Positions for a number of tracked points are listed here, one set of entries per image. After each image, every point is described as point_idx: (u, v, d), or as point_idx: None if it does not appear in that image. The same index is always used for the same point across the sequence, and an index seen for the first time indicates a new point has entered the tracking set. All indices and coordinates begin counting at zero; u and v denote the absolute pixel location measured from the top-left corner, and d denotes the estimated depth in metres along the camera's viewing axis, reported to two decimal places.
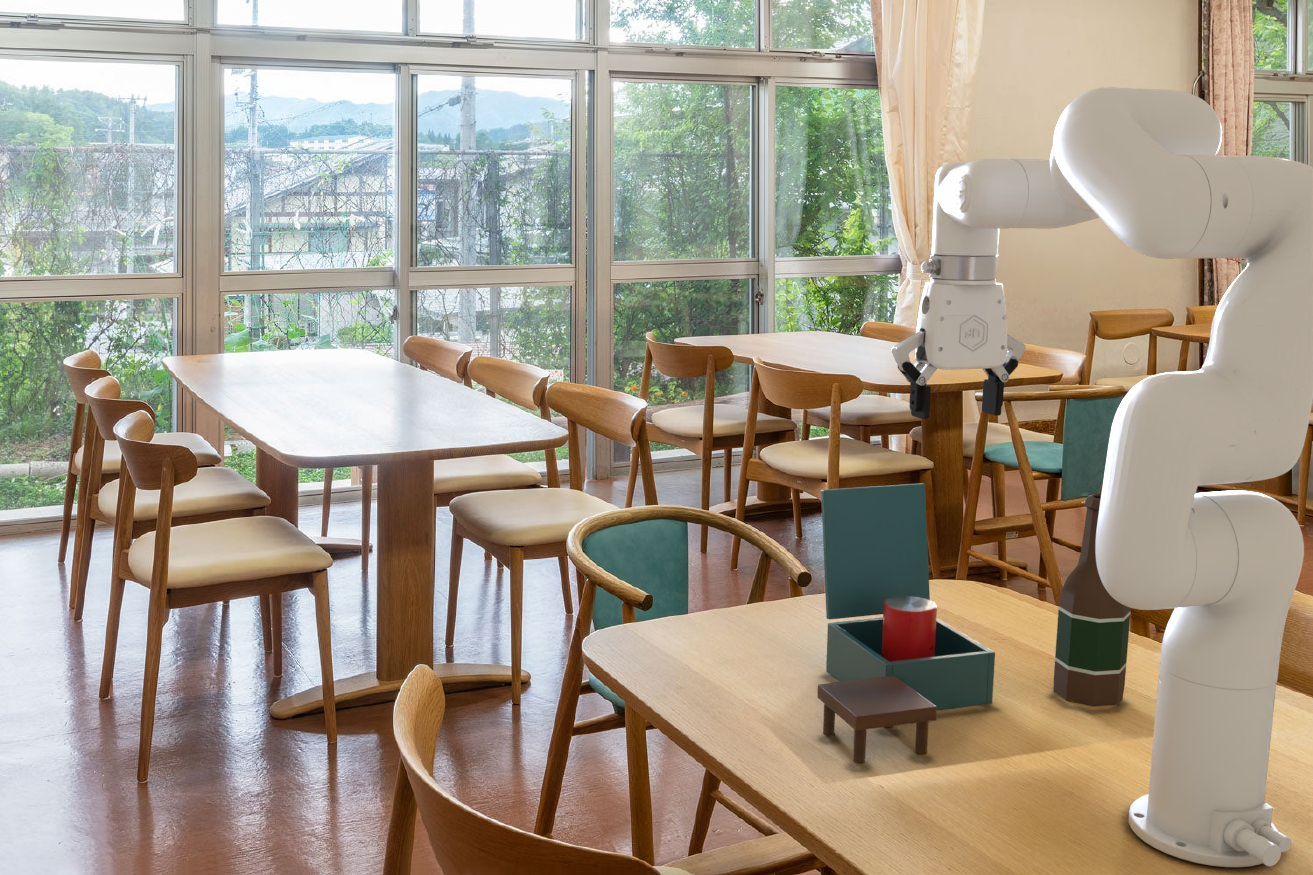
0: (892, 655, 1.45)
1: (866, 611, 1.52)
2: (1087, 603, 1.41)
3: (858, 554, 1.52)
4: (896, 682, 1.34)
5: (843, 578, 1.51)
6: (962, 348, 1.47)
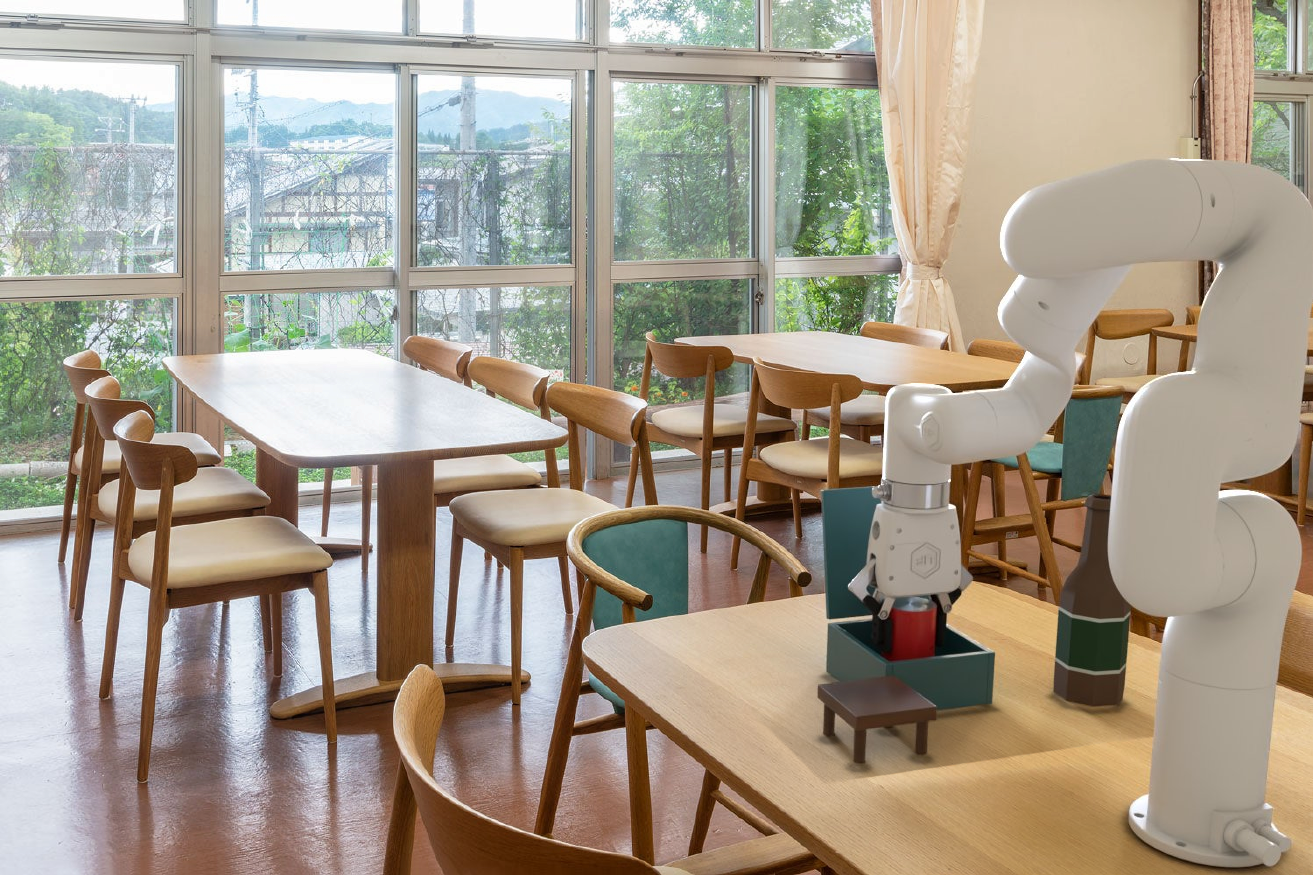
0: (892, 655, 1.45)
1: (866, 611, 1.52)
2: (1087, 603, 1.41)
3: (858, 554, 1.52)
4: (896, 682, 1.34)
5: (843, 578, 1.51)
6: (914, 576, 1.42)
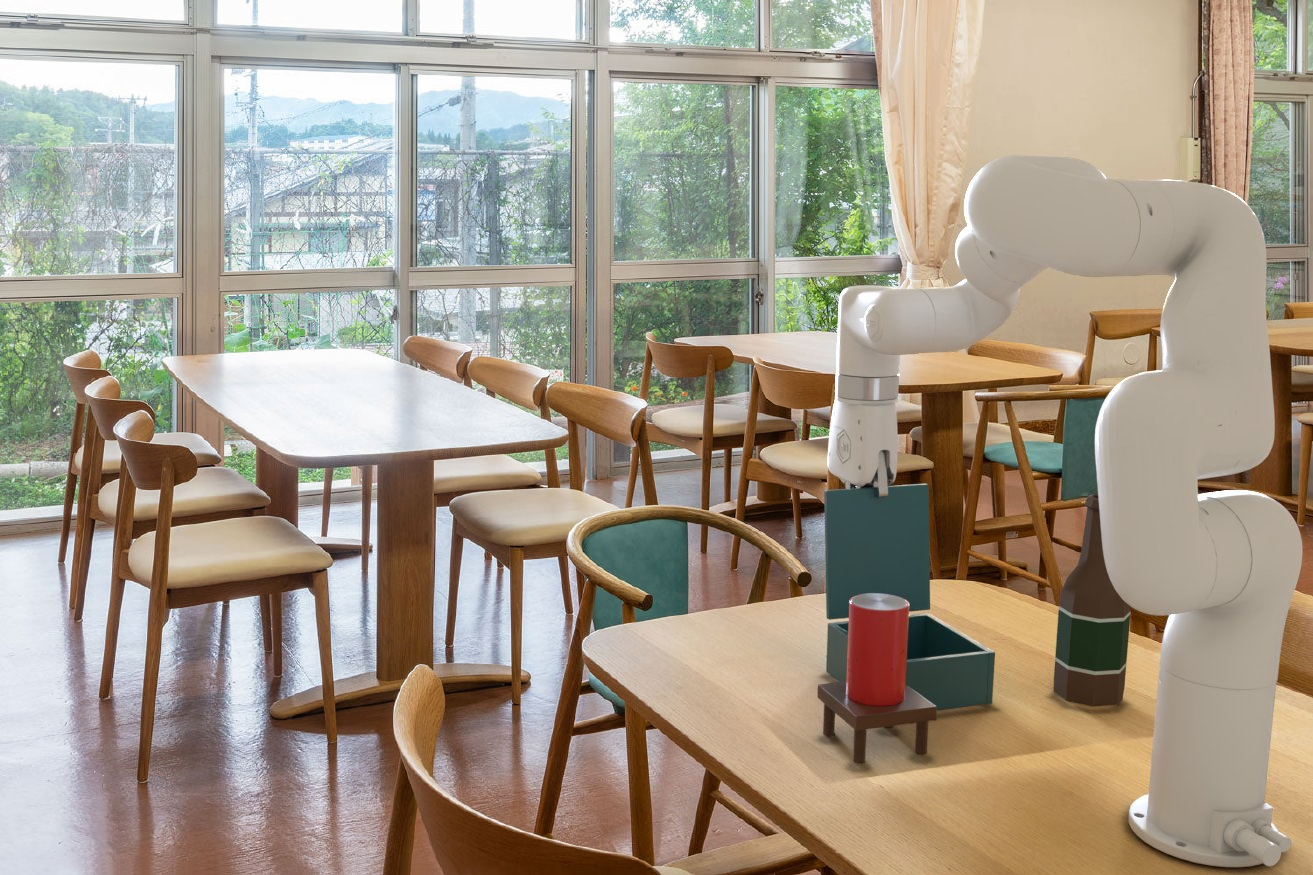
0: (859, 659, 1.28)
1: None
2: (1088, 603, 1.41)
3: (860, 555, 1.51)
4: None
5: (844, 578, 1.51)
6: (838, 458, 1.55)
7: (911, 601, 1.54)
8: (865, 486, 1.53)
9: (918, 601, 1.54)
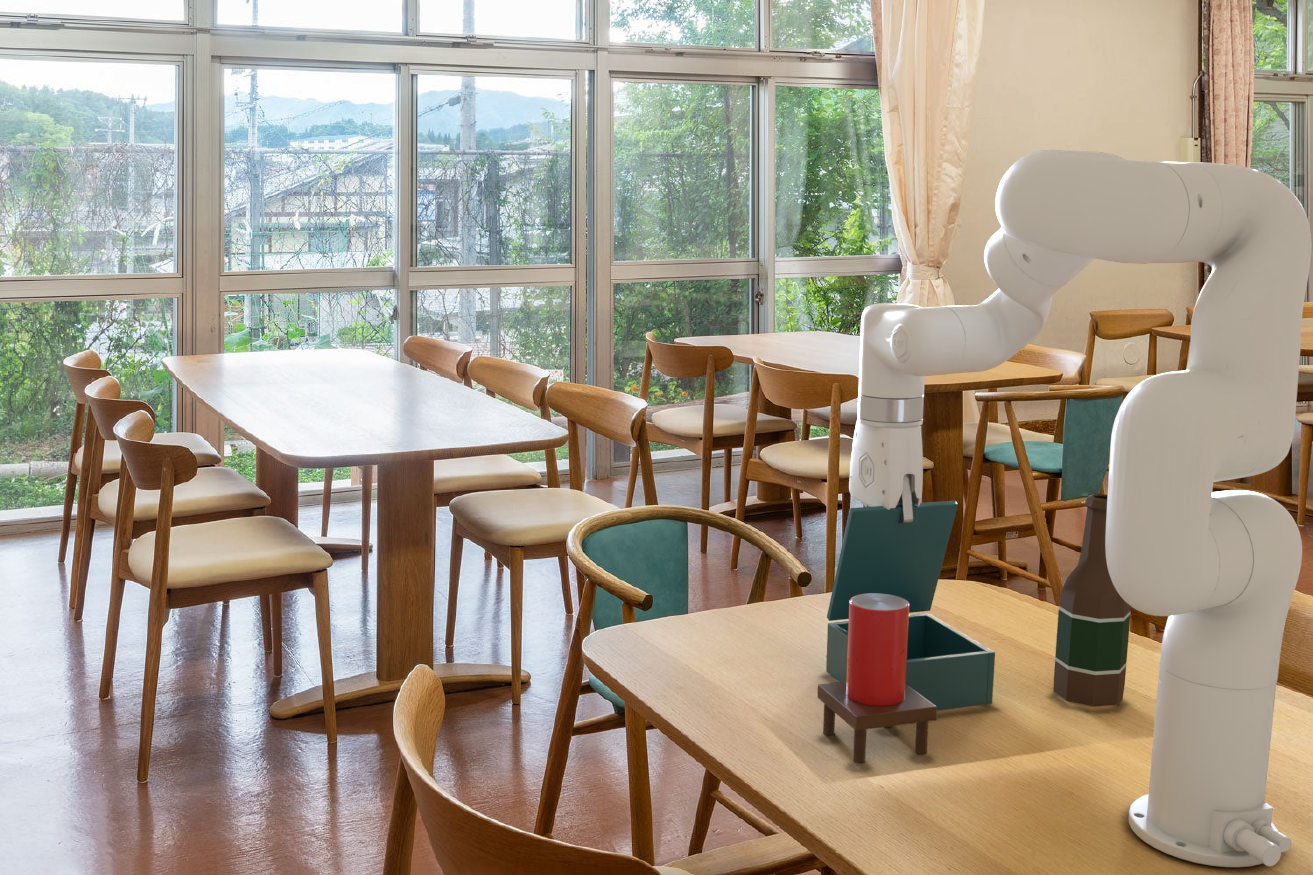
0: (859, 659, 1.28)
1: None
2: (1088, 603, 1.41)
3: (872, 566, 1.48)
4: None
5: (852, 587, 1.49)
6: (860, 482, 1.50)
7: (913, 604, 1.53)
8: None
9: (920, 604, 1.54)
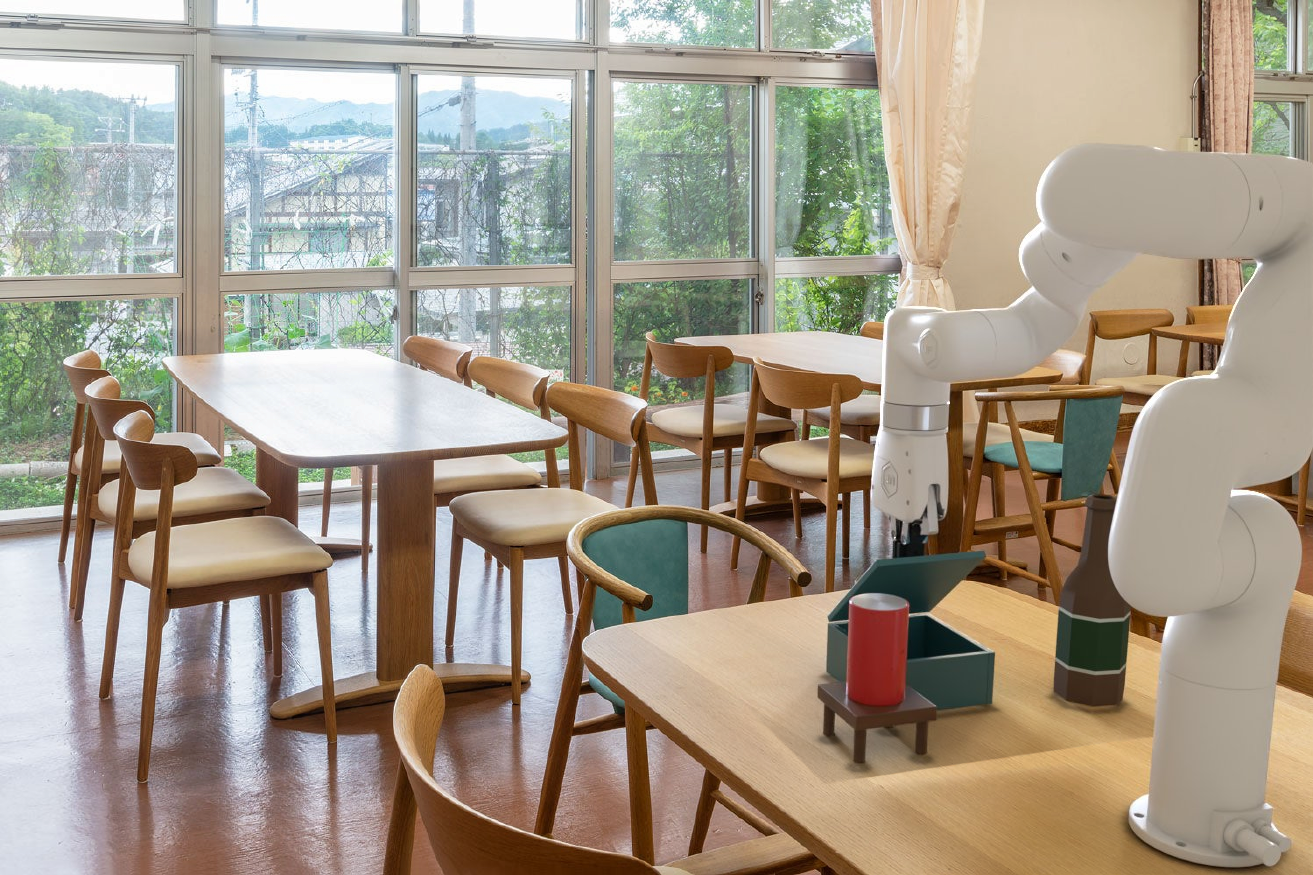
0: (859, 659, 1.28)
1: None
2: (1088, 603, 1.41)
3: (884, 593, 1.46)
4: None
5: None
6: (883, 492, 1.45)
7: (915, 609, 1.53)
8: (913, 522, 1.43)
9: (921, 609, 1.53)
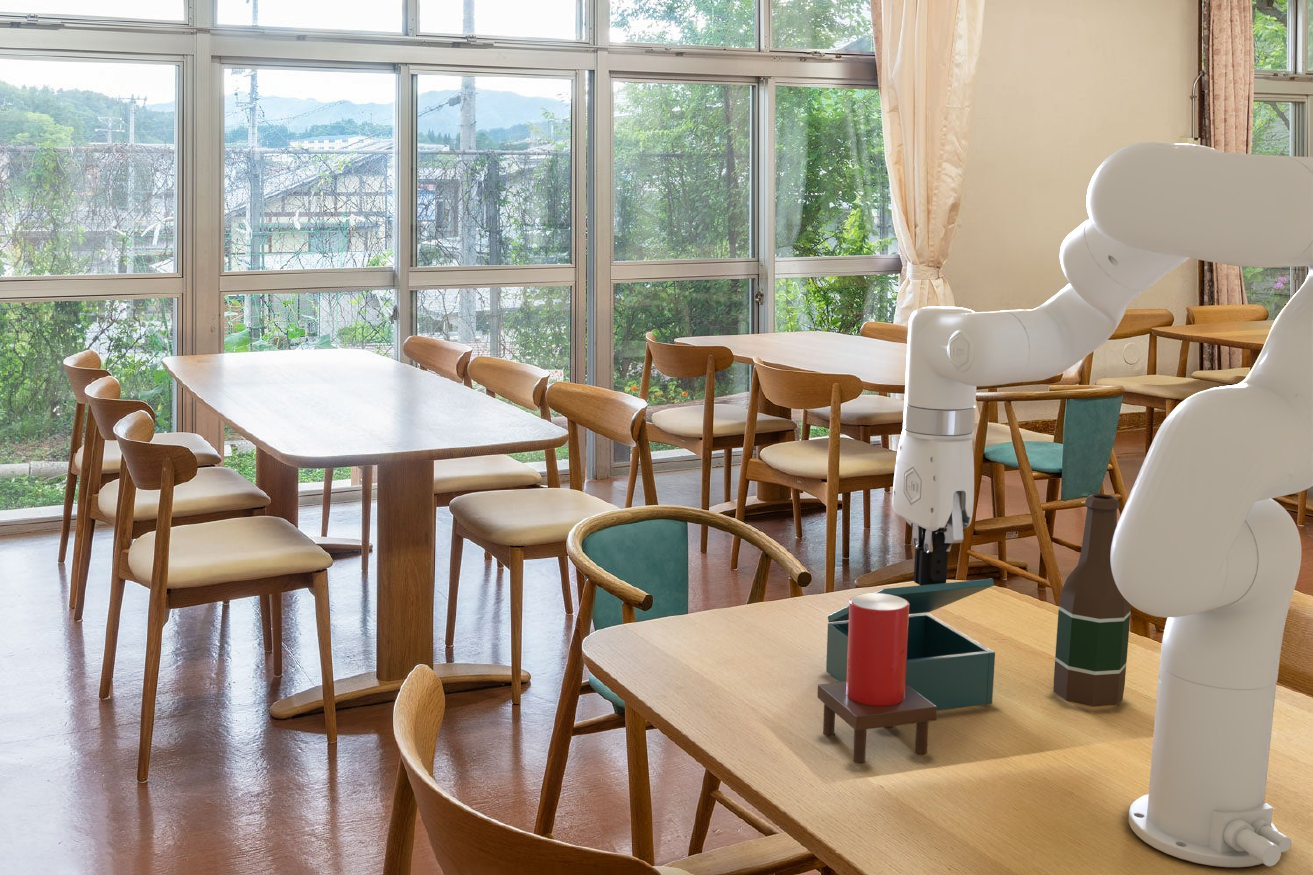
0: (859, 659, 1.28)
1: None
2: (1087, 603, 1.41)
3: None
4: None
5: None
6: (905, 498, 1.40)
7: (915, 612, 1.53)
8: (936, 530, 1.38)
9: (922, 611, 1.53)
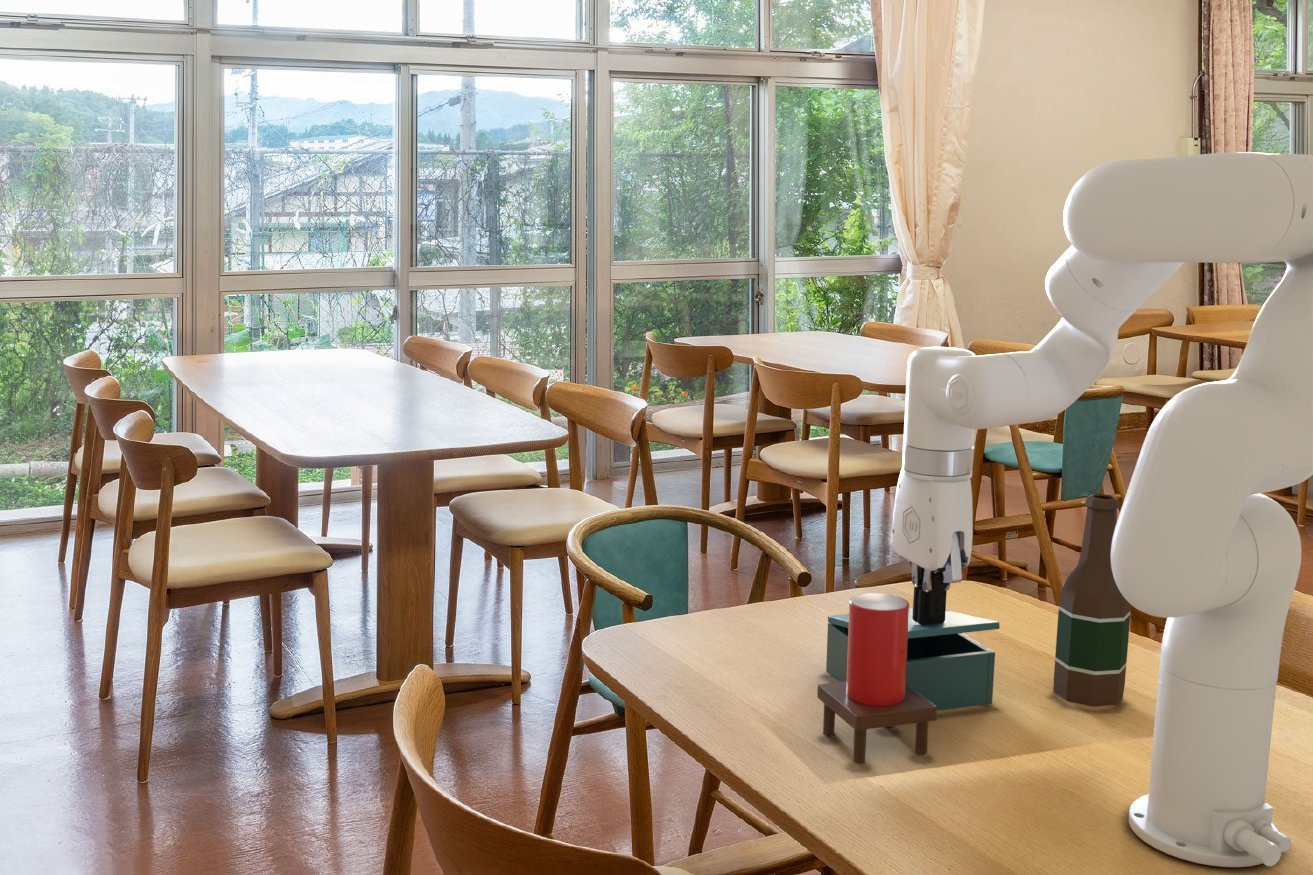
0: (859, 659, 1.28)
1: None
2: (1087, 603, 1.41)
3: None
4: None
5: None
6: (904, 537, 1.40)
7: None
8: (935, 569, 1.38)
9: None
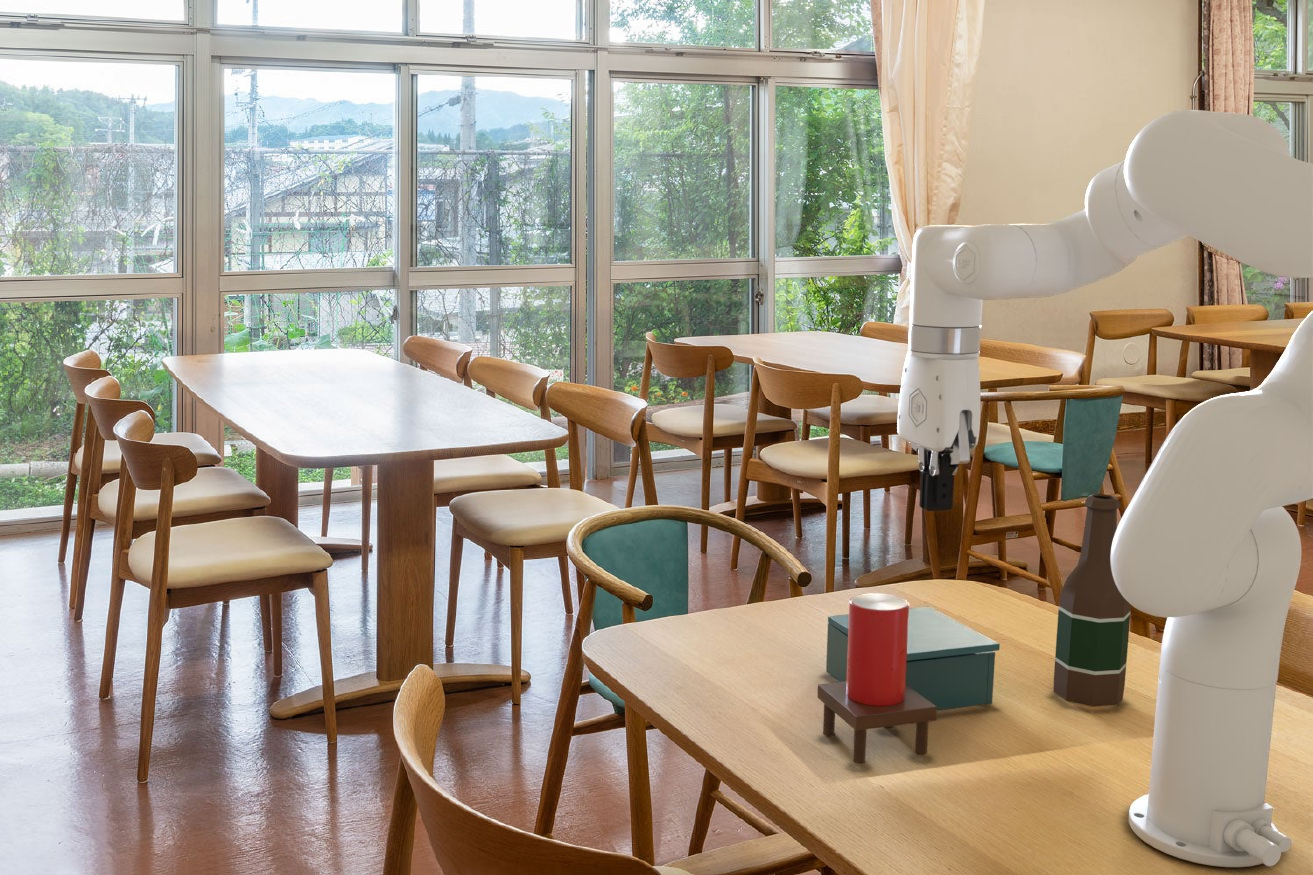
0: (859, 659, 1.28)
1: None
2: (1087, 603, 1.41)
3: None
4: None
5: None
6: (911, 421, 1.38)
7: None
8: (942, 452, 1.36)
9: None
